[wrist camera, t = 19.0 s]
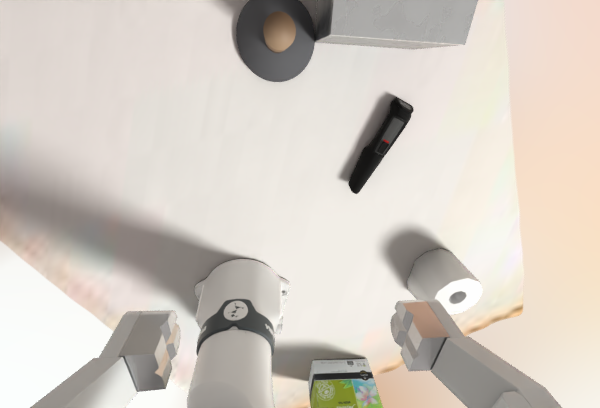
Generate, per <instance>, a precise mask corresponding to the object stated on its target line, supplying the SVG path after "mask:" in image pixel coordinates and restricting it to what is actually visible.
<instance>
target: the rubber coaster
mask: <svg viewBox="0 0 600 408" xmlns="http://www.w3.org/2000/svg"><path fill="white" fill-rule="evenodd" d="M277 11H281V12H285V13H286V14H288V15H289V16H290V17H291V18H292V20H293V21H294V24H295V28H296V35H295V39H294V41H293V43H292V44H291V45H290V46H289V47H288V48H287V49H286V50H284V51H283V52H281V53H274V52H272V51H270V50H269V49H268V47H267V45H266V42H265V38H264V33H263V27H264V23H265V20H266V18H267V17H268V16H269V15H270V14H271V13H273V12H277ZM236 36H237V44H238V49H239V51H240V54H241V56H242V59H243V60H244V62H245V64H246V65H247V66H248V67H249V69H250V70H251V71H252V72H253V73H255V74H256V75H257V76H259V77H261V78H263V79H265V80H268V81H273V82H282V81H287V80H290V79H292V78H294V77H296V76H297V75H298V74H300V73H301V72H302V71H303V70H304V69H305V67H306V66H307V64H308V63H309V61H310V59H311V56H312V54H313V50H314V43H315V33H314V27H313V23H312V20H311V17H310V15H309V13H308V11H307V10H306V8H305V7H304V6H303V4H302V3H301V2H300V1H299V0H250V1H249V2H248V3H247V4H246V5H245V7H244V8H243V10H242V12H241V14H240V16H239V19H238V23H237V35H236Z"/></svg>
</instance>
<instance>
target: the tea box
mask: <svg viewBox="0 0 600 408" xmlns="http://www.w3.org/2000/svg"><path fill="white" fill-rule="evenodd" d="M308 384H309V395H310V404H311V408H383V406H382V403H381V400H380V397H379V394H378V390H377V387H376V384H375V381H374V378H373V374H372V371H371V369H370V366H369V363H368V360H367V358H366V359H354V360H350V359H347V360H312V364H311V371H310V377H309V382H308Z"/></svg>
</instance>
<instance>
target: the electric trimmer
mask: <svg viewBox="0 0 600 408" xmlns="http://www.w3.org/2000/svg"><path fill="white" fill-rule="evenodd" d="M412 112H413V107H412V106H411V105H409V104H408V103H406V102H404V101H403V100H401V99H399V98H397V97H396V98H395V100H394V101H392V102H391V105H390V113H389V115H388V117H387V118H386V120H385V122H384V123H383V125H382V127H381V128H380V130H379V132H378V133H377V135H376V137H375V139H374V140H373V141H372V143H371V144H370V145H369V146H367V147H366V148H364V150H363V152H362V154H361V156H360V158H359V160H358V162H357V165H356V167H355V169H354V171H353V174H352V176H351V178H350V180H349V186H350V189H351V191H352V192H353V193H355V194H357V193H359V191H360V190H361V189H362V187H363V186H364V184H365V183H366V182H367V180H368V179H369V177H370V176H371V175H372V173H373V172H374V170H375V169H376V167H377V166H378V165H379V163H380V162H381V160H382V159H383V157H384V156H385V155H386V153H387V152H388V151H389V149H390V148H391V146H392V145H393V144H394V142H395V141H396V139H397V138H398V136H399V135H400V134H401V132H402V131H403V129H404V128H405V126H406V125H407V123H408V121H409V120H410V118H411V113H412Z"/></svg>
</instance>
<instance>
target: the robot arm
mask: <svg viewBox="0 0 600 408" xmlns="http://www.w3.org/2000/svg"><path fill="white" fill-rule="evenodd" d="M283 290H284V291H283ZM289 291H290V283H289V282H288V281H287V280H285V279H283V278H281V277H279V276H278V275H277V274H276V273H275V272H274V271H273V270H272V269H271V268H270V267H268V266H267V265H265V264H263V263H261V262H258V261H255V260H250V259H236V260H231V261H228V262H225V263H223V264H221V265H219V266H217V267H216V268H215V269H214V270H213V271H212V272H211V273H210V275H209V276H208V277H207V278H206V279H205V280H203V281H201V282H199V283H198V284H197V285H196V286H195V290H194V292H195V294H196V296H197V299H198V301H199V304H198V309H197V314H196V322H198V326H199V327H200V329H201V332H200V334H199V337H198V342H197V356H198V357H197V361H196V365H195V369H194V373H193V377H192V381H191V385H190V389H189V394H188V398H187V408H275V404H274V397H273V385H272V366H271V357H272V355H273V352H274V345H275V337H274V334H275V333H276V334H280V333H281V332H282V321H283V316H282V313H283V310H284V307H285V304H286V300H287V297H288V294H289ZM395 309H396V311H397V312H396V313H395V314H394V315H393V316H392V319H391V331H392V335H393V338H394V340H395V342H396V343H397V344H398V345H400V346H401V347H402V349H401V356H402V358H403V360H404V362H405V364H406V366H407V368H408V371H425V370H426V371H427V370H432V371H431V372H432V373H433V374H434V375H435V376H436V377H437V378H438V379H439V380H440V381H441V382H442V383H443V384H444V385H445V386H446V387H447V388H448V389H449V390H450V391H451V392H452V393H453V394H454V395H455V396H456V397H457V398H458V399H459V400H461V401H462V402H463V404H464V405H465V406H467V407H468V408H561V406H560V405H559V404H558V402H557V401H556V400H555V399H554V398H553V396H552V395H551V394H550V393H549V392H548V391H547V389H546V388H545V387H543V386H541V385H540V384H539V383H537V382H536V381H534V380H533V379H531V378H530V377H528V376H527V375H525V374H524V373H522V372H521V371H519V370H518V369H516V368H515V367H513V366H512V365H510V364H509V363H507V362H506V361H504V360H503V359H501V358H500V357H498V356H497V355H495V354H494V353H492V352H491V351H490V350H488V349H486V348H485V347H484V346H482V345H481V344H479V343H478V342H476V341H475V340H473V339H472V338H470V337H465V336H464V335H463V333H462V332H461V331H460V329H459V328H458V326H457V325H456V324H455V322H454V321H453V319H452V318H451V317H450V315H449V314H448V312H447V311H446V310H445V308H444V307H443V305H442V304H441V303H440V301H438V300H437V299H432V300H407V301H398V302H397V303H396V306H395ZM176 319H177V315H176V312H175V311H130V312H127V313H126V314H125V315H124V316H123V317H122V319H121V320H120V322H119V324H118V326H117V327H116V329H115V331H114V332H113V334H112V336H111V338H110V339H109V341H108V343H107V344H106V346H105V348H104V350H103V351H102V353H101V355H100V356H99V358H94V359H92V360H91V361H90V362H88V363H87V364H86V365H85V366H83V367H82V368H81V369H79V370H78V371H77V372H75V373H74V374H73V375H71V376H70V377H69V378H68V379H66V380H65V381H64V382H62V383H61V384H60V385H59V386H57V387H56V388H55V389H54V390H52V391H51V392H50V393H48V394H47V395H46V396H44V397H43V398H42V399H41V400H39V401H38V402H37V403H35V404H34V405H33V406H32V407H30V408H125V407H126V406H127V405H128V404H129V403H130V401H131V400H132V399H133V398H134V397H135V396H136V395H137V392H139V391H148V390H159V389H165V388H166V386H167V383H168V380H169V376H170V373H171V370H172V365H171V360H172V359H173V358H174V357H175V356H176V355H177V351H178V348H179V343H180V328H179V326H178V325H177V324H176V323H175V322H176Z"/></svg>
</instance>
